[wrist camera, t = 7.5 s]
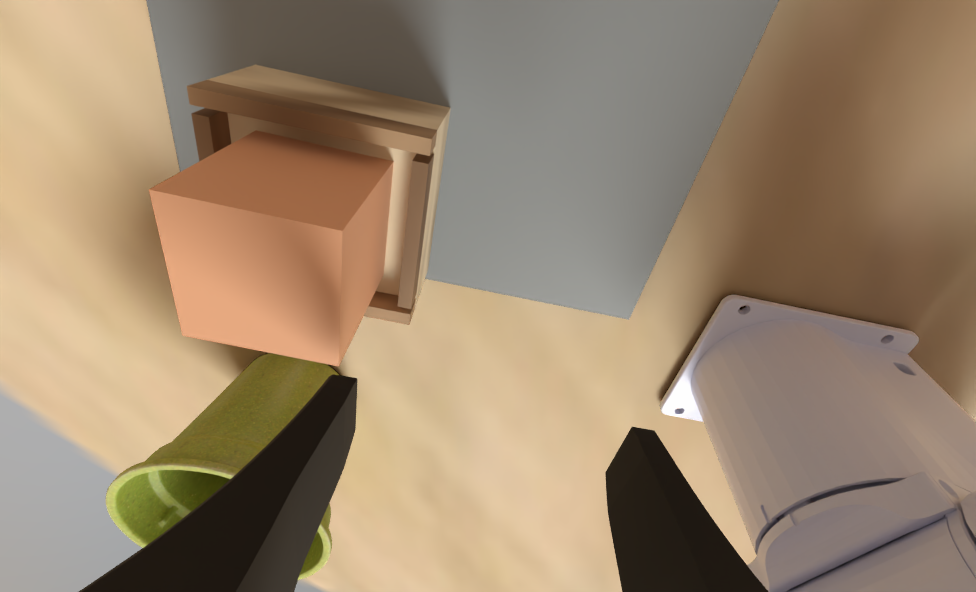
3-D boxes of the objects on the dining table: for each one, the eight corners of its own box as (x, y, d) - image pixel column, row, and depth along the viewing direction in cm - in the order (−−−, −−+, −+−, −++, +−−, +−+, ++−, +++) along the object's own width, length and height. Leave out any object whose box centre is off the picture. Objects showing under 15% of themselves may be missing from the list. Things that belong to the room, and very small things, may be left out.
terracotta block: (393, 161, 15) (342, 231, 11) (383, 274, 17) (339, 366, 13) (255, 130, 15) (148, 189, 10) (265, 249, 17) (182, 335, 13)
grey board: (873, -239, 12) (899, -256, 11) (625, 307, 22) (628, 319, 21) (85, -455, 11) (49, -491, 10) (204, 221, 21) (191, 231, 20)
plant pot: (289, 296, 23) (184, 435, 16) (413, 405, 27) (372, 556, 20) (187, 369, 27) (64, 511, 20) (309, 456, 31) (244, 600, 24)
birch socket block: (450, 107, 17) (431, 139, 13) (427, 269, 21) (409, 324, 17) (255, 64, 16) (186, 86, 13) (270, 238, 20) (220, 288, 17)
